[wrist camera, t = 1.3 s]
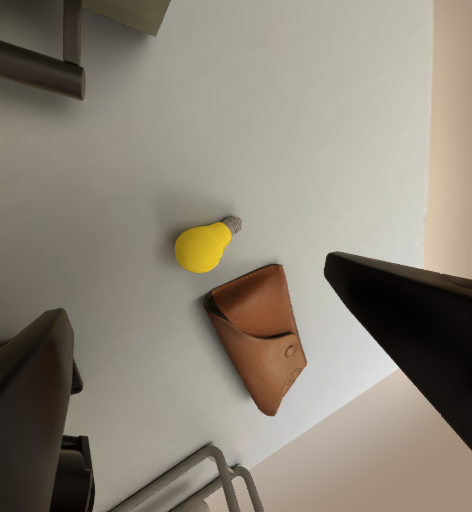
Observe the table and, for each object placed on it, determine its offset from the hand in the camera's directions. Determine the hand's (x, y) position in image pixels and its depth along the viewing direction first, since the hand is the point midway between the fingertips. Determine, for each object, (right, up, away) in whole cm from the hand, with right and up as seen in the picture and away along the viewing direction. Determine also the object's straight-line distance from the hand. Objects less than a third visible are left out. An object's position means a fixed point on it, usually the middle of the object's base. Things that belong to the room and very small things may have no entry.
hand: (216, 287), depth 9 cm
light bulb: (-2, +3, +13) cm, 13 cm away
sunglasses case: (+4, -8, +21) cm, 22 cm away
